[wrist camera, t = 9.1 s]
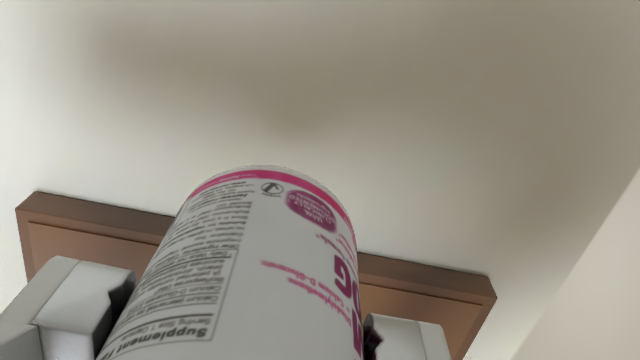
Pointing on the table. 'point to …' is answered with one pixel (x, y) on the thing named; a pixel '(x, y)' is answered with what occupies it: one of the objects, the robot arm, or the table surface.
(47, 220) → the cutting board
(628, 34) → the table surface
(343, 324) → the pill bottle
